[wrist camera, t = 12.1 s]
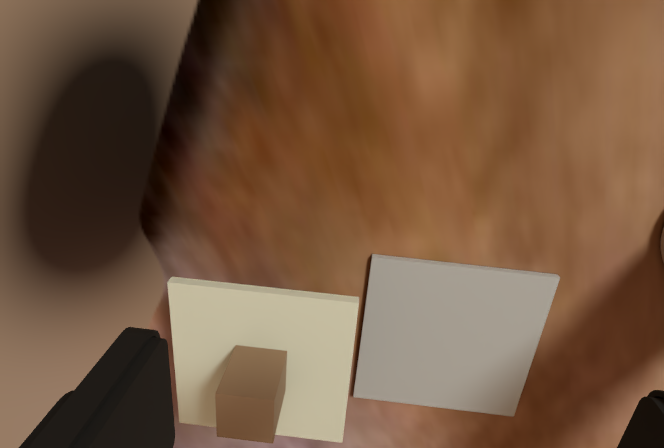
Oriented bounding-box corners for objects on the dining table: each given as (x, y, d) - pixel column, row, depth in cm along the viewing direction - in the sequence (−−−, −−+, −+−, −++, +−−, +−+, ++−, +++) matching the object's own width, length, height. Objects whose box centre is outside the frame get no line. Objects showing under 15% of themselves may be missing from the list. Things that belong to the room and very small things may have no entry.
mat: (557, 274, 39) (559, 277, 38) (511, 412, 45) (513, 416, 45) (372, 254, 39) (372, 257, 39) (353, 392, 46) (353, 396, 45)
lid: (359, 297, 33) (356, 348, 28) (342, 434, 39) (338, 499, 33) (171, 276, 33) (134, 323, 28) (182, 415, 39) (153, 476, 34)
